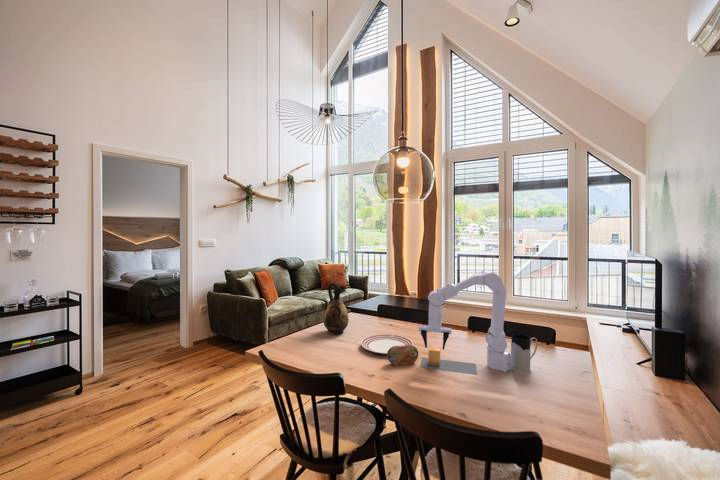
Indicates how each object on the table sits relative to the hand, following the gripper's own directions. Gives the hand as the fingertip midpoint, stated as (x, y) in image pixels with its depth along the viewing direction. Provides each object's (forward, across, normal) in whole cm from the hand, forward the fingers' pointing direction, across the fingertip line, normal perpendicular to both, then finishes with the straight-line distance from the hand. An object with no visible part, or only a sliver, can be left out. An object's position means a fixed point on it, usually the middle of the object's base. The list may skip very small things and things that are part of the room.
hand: (434, 347), depth 146 cm
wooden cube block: (+7, 0, 0) cm, 7 cm away
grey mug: (+9, +39, +10) cm, 41 cm away
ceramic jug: (+9, -61, +34) cm, 70 cm away
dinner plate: (+9, -26, +17) cm, 32 cm away
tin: (+9, -15, 0) cm, 17 cm away
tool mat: (+9, +6, 0) cm, 11 cm away
